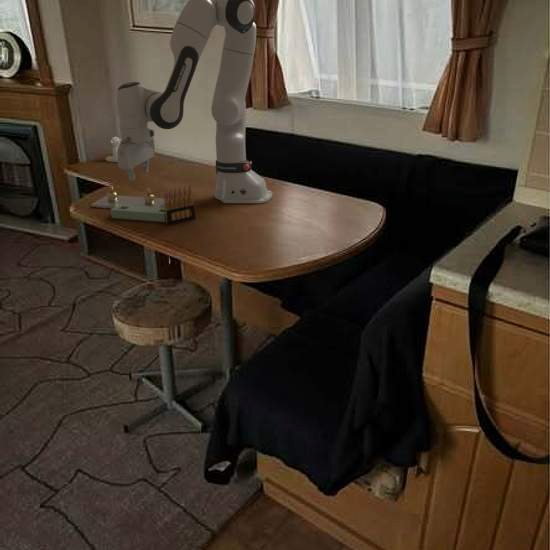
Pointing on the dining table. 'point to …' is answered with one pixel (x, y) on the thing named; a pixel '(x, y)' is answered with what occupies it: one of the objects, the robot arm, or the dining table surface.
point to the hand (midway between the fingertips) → (139, 176)
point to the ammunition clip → (179, 206)
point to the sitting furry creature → (114, 150)
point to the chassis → (128, 200)
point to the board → (138, 213)
